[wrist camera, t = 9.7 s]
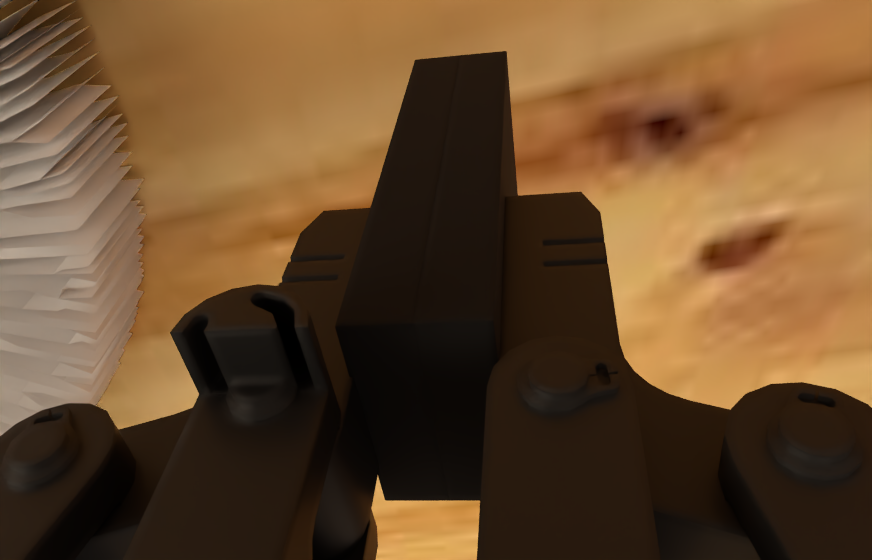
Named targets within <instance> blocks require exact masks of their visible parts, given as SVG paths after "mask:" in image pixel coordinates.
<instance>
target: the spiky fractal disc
mask: <svg viewBox="0 0 872 560" xmlns="http://www.w3.org/2000/svg"><path fill="white" fill-rule="evenodd" d="M12 1H13V0H0V9H1V8H2V7H4V6H5V5H7V4H9V3H10V2H12ZM37 1H39V0H35V1H34V2H32V3H30V4H29V5H27V6H25V7H24V8H22V9H20V10H19V11H17V12H15V13H13V14H12V15H10V16H8V17H7V18H5V19H3V20H2V21H0V436H1V435H2V434H4V433H5V432H6V431H7V430H9V429H10V428H11V427H12V426H14V425H15V424H16V423H18V422H20V421H22V420H24V419H26V418H28V417H30V416H32V415H34V414H35V413H37V412H39V411H41V410H44V409H48V408H52V407H55V406H59V405H63V404H66V403H90V404H93V405H95V406H96V405H97V403H98V401H99V400H100V398H101V397H102V395H103V393H104V392H105V390H106V388H107V387H108V385H109V384H110V383H109V382H110V380H111V378H112V377H113V375H114V373H115V372H116V370H117V369H118V367H119V365H120V364H121V363H119V362H118V361H119V359H120V358H121V356H122V355H123V353H124V351H125V350H124V349H123V348H124V346H125V345H126V343H127V342H128V340H129V338H130V337H131V335H132V334H133V333H130V332H129V331H130V329H131V328H132V326H133V325H134V323H135V321H136V320H134V318H135V317H136V315H137V314H138V313H136V311H137V310H138V308H139V307H136V306H137V304H138V300H139V299H140V297H141V296H142V294H143V293H144V291H140V290H136V289H137V288H138V286H139V285H140V283H141V282H142V281H143V280H142V278H143V277H144V275H143V274H142V272H143V271H144V269H141V268H140V267H141V266H142V264H143V263H144V262H138V261H139V260H140V259H141V257H142V256H143V254H140V253H138V252H139V251H140V249H141V248H142V246H143V245H144V244H140V242H141V241H142V239H143V238H144V236H141V235H138V234H139V233H140V232H141V230H142V229H137V228H138V227H139V226H140V224H141V223H142V221H143V220H144V217H145V216H146V215H147V214H143V213H139V212H140V211H141V209H142V208H143V207H144V206H136V205H137V204H138V203H139V201H140V200H136V201H130V200H131V199H132V198H133V197H134V195H135V194H136V193H137V192H138V191H139V189H140V188H139V189H137V188H138V186H139V185H140V184H141V183H142V181H143V180H144V179H145V178H143V179H128V180H121V179H122V178H123V176H124V175H125V174H126V173H127V172H128V171H129V170H130V168H131V167H132V166H133V165H132V166H124V167H119V166H120V165H121V164H122V163H123V162H124V161H125V160H126V159H127V157H128V156H129V155H130V154H131V153H132V152H119V153H113V152H114V151H115V150H116V149H117V148H118V147H119V146H120V145H121V144H122V143H123V141H124V140H125V139H126V138H127V137H128V136H124V137H118V138H114V137H115V136H116V135H117V134H118V133H119V132H120V131H121V130H122V129H123V128H124V127H125V125H126V124H127V123H124V124H121V125H117V126H113V127H110V126H111V125H112V124H113V123H114V122H115V121H116V120H117V119H118V118H119V117H120V116H121V115H122V114H119V115H116V116H112V117H109V118H105V119H102V120H98V121H95V122H92V121H93V120H94V119H95V118H96V117H97V116H98V115H99V114H100V113H101V112H103V111H104V110H105V109H106V108H107V107H108V106H109V105H110V104H111V103H112V102H113V101H114V100H115V99H116V98H117V97H118V96H115V97H111V98H107V99H103V100H100V101H96V102H94V101H95V100H96V99H97V98H98V97H99V96H100V95H102V94H103V93H104V92H105V91H106V90H107V89H108V88H109V87H110V86H111V85H84V84H85V83H86V82H88V81H89V80H90V79H91V78H92V77H94V76H95V75H96V74H97V73H98V72H99V71H98V72H97V73H95V74H94V75H92V76H91V77H90V78H88V79H87V80H85V81H84V82H82V83H81V84H80V85H73V86H70V87H67V88H64V89H61V90H57V91H54V92H51V93H49V92H50V91H51V90H53V89H54V88H55V87H56V86H58V85H59V84H60V83H61V82H63V81H64V80H65V79H66V78H68V77H69V76H70V75H71V74H73V73H74V72H75V71H76V70H78V69H79V68H80V67H81V66H83V65H84V64H85V63H86V62H88V61H89V60H90V59H91V58H92V57H94V56H95V55H96V54H97V53H99V52H100V51H99V52H97V53H96V54H94V55H92V56H90V57H88V58H86V59H84V60H83V61H81V62H79V63H77V64H75V65H73V66H71V67H69V68H67V69H65V70H63V71H61V72H59V73H57V74H55V75H53V76H51V77H46V78H43V77H45V76H46V75H47V74H49V73H50V72H51V71H53V70H54V69H55V68H57V67H58V66H59V65H60V64H62V63H63V62H64V61H66V60H67V59H68V58H70V57H71V56H72V55H74V54H75V53H76V52H78V51H79V50H80V49H81V48H83V47H84V46H85V45H87V44H88V43H89V42H88V43H86V44H85V45H83V46H81V47H80V48H78V49H76V50H75V51H73V52H71V53H66V54H62V55H58V56H53V57H49V58H47V57H48V56H50V55H51V54H52V53H54V52H55V51H57V50H58V49H59V48H61V47H62V46H63V45H65V44H66V43H68V42H69V41H70V40H72V39H73V38H74V37H76V36H77V35H79V34H80V33H81V32H83V31H84V30H86V29H87V28H88V27H90V26H91V25H90V26H88V27H86V28H84V29H82V30H80V31H77V32H75V33H73V34H71V35H69V36H67V37H65V38H62V39H60V40H58V41H56V42H54V43H52V44H49V45H47V46H45V47H43V48H41V49H39V50H37V49H38V48H40V47H41V46H43V45H44V44H46V43H47V42H49V41H50V40H51V39H53V38H54V37H56V36H57V35H59V34H60V33H61V32H63V31H64V30H66V29H67V28H69V27H70V26H72V25H73V24H74V23H76V22H77V21H79V20H80V19H82V18H83V17H82V18H78V19H74V20H70V21H66V22H62V21H63V20H62V21H61V22H62V23H60V22H59V23H58V24H54V25H49V26H45V27H41V28H37V29H33V28H34V27H36V26H37V25H39V24H41V23H42V22H44V21H45V20H47V19H48V18H50V17H51V16H53V15H55V14H56V13H58V12H59V11H61V10H62V9H64V8H65V7H67V6H68V5H70V4H72V3H73V2H75V1H73V2H71V3H69V4H67V5H64V6H62V7H60V8H58V9H55V10H53V11H51V12H49V13H46V14H44V15H42V16H40V17H38V18H36V19H35V20H33V21H31V22H30V23H28V24H26V25H24V26H23V27H21V28H19V29H18V30H16V31H14V32H12V33H11V34H9V33H10V31H11V30H12V29H13V28H14V27H15V26H16V24H17V23H18V22H19V21H20V20H21V19H22V17H23V16H24V15H25V14H26V13H27V12H28V11H29V9H30V8H31V7H32V6H33V5H34V4H35V3H36V2H37ZM71 15H72V14H71ZM68 17H69V16H68ZM65 19H66V18H65ZM65 19H64V20H65ZM31 29H33V30H31ZM8 34H9V35H8ZM94 39H95V38H94ZM91 41H92V40H91ZM91 41H90V42H91ZM36 50H37V51H36ZM102 69H103V68H102ZM102 69H101V70H102ZM101 70H100V71H101ZM109 127H110V128H109Z"/></svg>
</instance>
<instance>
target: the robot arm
mask: <svg viewBox="0 0 872 560" xmlns="http://www.w3.org/2000/svg"><path fill="white" fill-rule="evenodd" d="M290 258H291V262H288V264H287V267H286V269H285V272H284V274H283V276H282V283H280V284H279V286H270V285H252V286H246V287H240V288H235V289H231V290H228V291H226V292H223V293H221V294H218V295H216V296H213V297H211V298H209V299H206V300H205V301H203V302H202V303H201V304H199V305H198V306H196V307H195V308H193V309H192V310H190V311H189V312H188V313H186V314H185V315H184V316H183V317H182V319H181V320H180V321H179V322H178V323H177V325H176V326H175V327H174V328H173V329H172V331H171V332H170V334H171V336H172V338H173V340H174V342H175V344H176V346H177V348H178V350H179V352H180V355H181V357H182V359H183V361H184V363H185V365H186V367H187V369H188V371H189V373H190V376H191V378H192V380H193V382H194V384H195V386H196V388H197V390H198V392H199V396H198V398H197V401H196V403H195V405H194V407H193V408H191V409H188V410H185V411H183V412H180V413H177V414H174V415H171V416H167V417H163V418H160V419H156V420H153V421H149V422H145V423H142V424H138V425H135V426H131V427H127V428H124V429H120V430H118V429H117V427H116V426H115V424H114V422H113V421H112V419H111V417H110V416H109V414H108V412H107V411H106V410H103V409H101V408H99V407H97V406H95V405H93V404H90V403H66V404H63V405H59V406H55V407H52V408H48V409H44V410H41V411H39V412H37V413H35V414H34V415H32V416H30V417H28V418H26V419H24V420H22V421H20V422H18V423H16V424H15V425H14V426H12V427H11V428H10V429H9V430H7V431H6V432H5V433H4V434H2V435H1V436H0V560H375V559H376V553H377V547H378V541H377V526H376V522H375V519H374V516H373V513H372V510H371V507H372V502H373V496H374V491H375V486H376V481H377V475H378V477H379V480H380V484H381V487H382V490H383V494H384V497H385V500H480V516H479V533H478V551H477V560H872V408H871V407H870V406H869V405H868V404H866V403H864V402H862V401H859V400H857V399H855V398H853V397H851V396H849V395H847V394H845V393H843V392H840V391H838V390H836V389H832V388H827V387H822V386H817V385H812V384H807V383H803V382H801V383H782V384H770V385H768V386H765V387H762V388H760V389H757V390H755V391H752V392H749V393H747V394H745V395H744V396H743V397H742V398H741V399H740V400H739V401H738V402H737V404H736V405H735V406H734V407H733V408H732V409H731V410H729V409H724V408H720V407H716V406H711V405H707V404H702V403H698V402H693V401H689V400H686V399H683V398H680V397H677V396H674V395H671V394H668V393H666V392H664V391H662V390H660V389H658V388H656V387H655V386H653V385H651V384H649V383H648V382H647V381H645V380H644V379H643V378H642V377H641V376H639V375H638V374H637V373H636V372H635V371H634V370H633V369H632V367H631V366H630V365H629V363H628V362H627V361H626V359H625V358H624V355H623V352H622V349H621V346H620V342H619V335H618V328H617V322H616V315H615V308H614V302H613V295H612V288H611V282H610V275H609V268H608V264H607V255H606V248H605V242H604V235H603V228H602V221H601V214H600V212H599V211H598V209H597V208H596V207H595V206H594V205H593V204H592V203H591V202H590V201H589V200H588V199H587V198H586V197H585V196H584V195H583V193H582V192H569V193H554V194H538V195H523V196H518V194H517V181H516V168H515V155H514V142H513V129H512V116H511V103H510V90H509V77H508V65H507V52H506V51H502V52H492V53H481V54H471V55H460V56H450V57H440V58H429V59H419V60H415V62H414V66H413V69H412V72H411V76H410V79H409V82H408V85H407V89H406V92H405V95H404V99H403V102H402V105H401V109H400V112H399V115H398V119H397V122H396V125H395V129H394V132H393V135H392V139H391V142H390V145H389V148H388V152H387V155H386V158H385V162H384V165H383V168H382V172H381V175H380V178H379V182H378V185H377V188H376V192H375V195H374V198H373V202H372V205H371V208H363V209H348V210H332V211H323V212H322V213H321V214H320V215H319V216H318V217H317V218H316V219H315V220H314V221H313V222H312V223H311V224H310V225H309V226H308V227H306V228H305V229H304V230H303V231H302V232H301V233H300V236H299V238H298V241H297V243H296V245H295V248H294V250H293V253H292V255H291V257H290Z"/></svg>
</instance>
